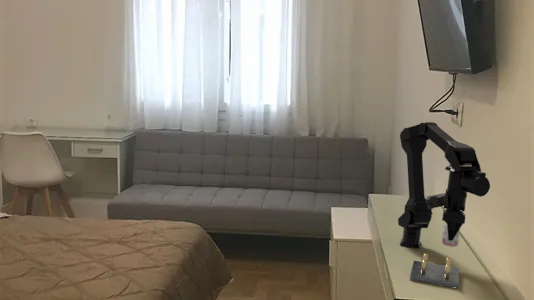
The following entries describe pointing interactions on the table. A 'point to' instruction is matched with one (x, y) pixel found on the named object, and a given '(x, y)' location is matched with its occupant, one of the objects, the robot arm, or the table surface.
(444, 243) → the pill bottle
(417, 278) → the grey pegged plate
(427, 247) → the table surface
